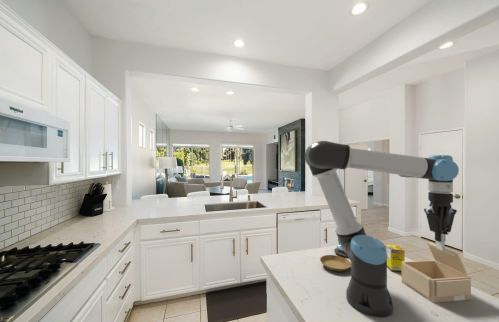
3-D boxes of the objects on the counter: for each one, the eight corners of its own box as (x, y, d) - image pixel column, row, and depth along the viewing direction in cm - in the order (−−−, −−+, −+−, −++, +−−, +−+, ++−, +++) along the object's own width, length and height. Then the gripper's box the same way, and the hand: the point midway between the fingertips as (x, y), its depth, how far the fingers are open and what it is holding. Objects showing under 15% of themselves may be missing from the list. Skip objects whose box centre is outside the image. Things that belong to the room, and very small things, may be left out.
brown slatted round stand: (361, 254, 117) (361, 241, 117) (346, 258, 113) (346, 244, 113) (344, 246, 128) (344, 234, 128) (329, 250, 124) (329, 237, 124)
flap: (456, 254, 79) (458, 253, 79) (426, 242, 90) (428, 241, 91) (465, 275, 79) (467, 273, 79) (434, 260, 91) (436, 259, 91)
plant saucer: (329, 275, 96) (329, 269, 96) (315, 260, 111) (315, 255, 111) (357, 273, 98) (357, 267, 98) (340, 258, 113) (340, 253, 113)
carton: (433, 305, 76) (433, 281, 76) (398, 281, 91) (398, 261, 91) (473, 302, 77) (473, 278, 77) (432, 278, 93) (432, 259, 93)
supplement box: (405, 272, 98) (404, 250, 98) (391, 271, 99) (391, 249, 99) (398, 266, 104) (398, 245, 104) (385, 265, 105) (385, 244, 105)
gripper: (435, 193, 80) (435, 253, 80) (464, 193, 82) (463, 252, 81) (418, 190, 88) (417, 245, 88) (444, 191, 89) (444, 245, 89)
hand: (440, 249), depth 84 cm, fingers closed
